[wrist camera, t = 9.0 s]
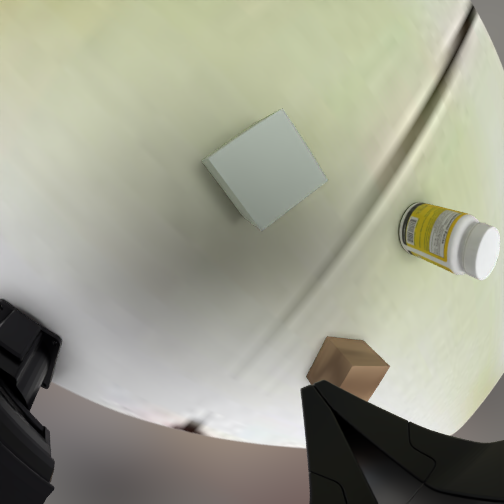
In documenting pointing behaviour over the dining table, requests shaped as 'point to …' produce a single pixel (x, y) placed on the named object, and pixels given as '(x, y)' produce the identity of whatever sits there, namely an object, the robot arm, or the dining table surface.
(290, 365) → the dining table surface
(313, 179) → the painted block
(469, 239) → the supplement bottle
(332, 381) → the walnut block
